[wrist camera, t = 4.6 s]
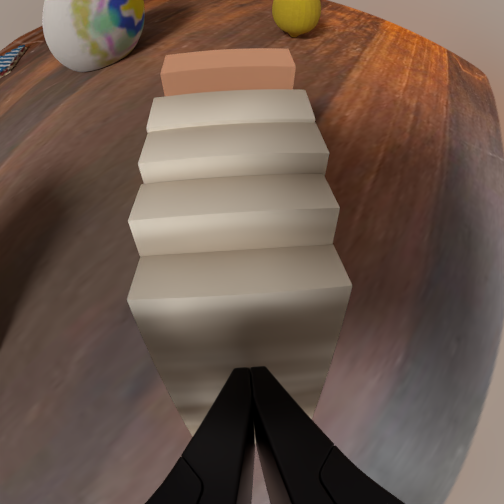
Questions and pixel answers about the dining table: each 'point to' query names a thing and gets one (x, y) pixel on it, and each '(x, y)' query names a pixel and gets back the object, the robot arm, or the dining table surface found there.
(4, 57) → the woven mat
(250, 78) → the domino
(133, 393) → the dining table surface
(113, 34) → the decorative egg
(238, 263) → the domino
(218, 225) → the domino
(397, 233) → the dining table surface
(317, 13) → the lemon
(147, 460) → the dining table surface
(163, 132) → the domino
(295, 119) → the domino
